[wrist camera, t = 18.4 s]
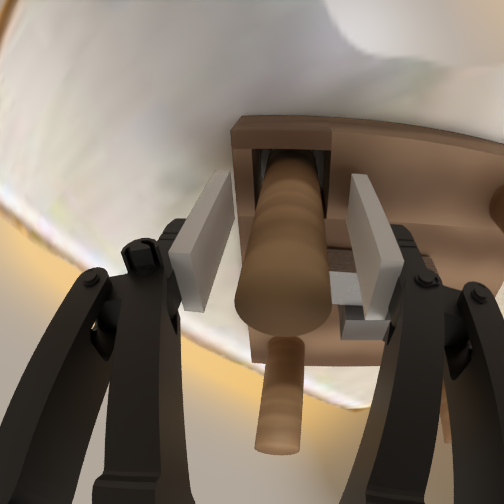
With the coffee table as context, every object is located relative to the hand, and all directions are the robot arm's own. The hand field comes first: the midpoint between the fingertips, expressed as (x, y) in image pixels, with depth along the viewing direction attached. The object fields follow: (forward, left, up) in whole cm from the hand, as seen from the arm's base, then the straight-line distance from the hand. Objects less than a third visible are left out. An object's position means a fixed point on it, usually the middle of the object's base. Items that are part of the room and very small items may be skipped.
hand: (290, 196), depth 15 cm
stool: (+7, +7, -5) cm, 11 cm away
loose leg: (0, 0, -5) cm, 5 cm away
